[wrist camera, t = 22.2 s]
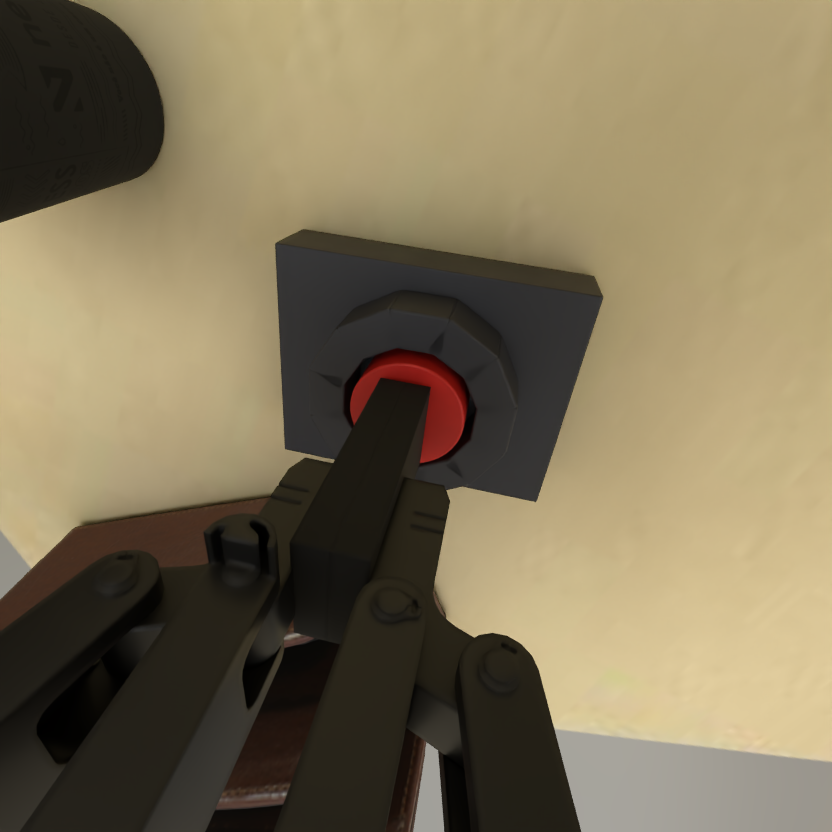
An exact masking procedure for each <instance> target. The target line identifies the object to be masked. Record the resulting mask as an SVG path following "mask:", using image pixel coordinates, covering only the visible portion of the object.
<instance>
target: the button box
mask: <svg viewBox="0 0 832 832" xmlns="http://www.w3.org/2000/svg"><path fill="white" fill-rule="evenodd" d="M275 249H276V270H277V291H278V312H279V333H280V354H281V374H282V395H283V416H284V437H285V449H287V450H292V451H296V452H301V453H306V454H311V455H315V456H320V457H325V458H330V459H334V460H335V459H336V457H337V455H338V454H339V452H340V450H341V448H342V446H343V445H344V443H345V441H346V439H347V437H348V436H349V434H350V432H351V430H352V428H353V427H354V424H353V421H352V417H351V411H350V402H351V396H352V392H353V390H354V388H355V386H356V384H357V383H358V381H359V379H360V378H361V376H362V375H363V373H364V372H365V370H366V368H367V367H368V365H369V364H370V362H371V361H372V359H373V358H374V357H375V356H376V355H378V354H381V353H384V352H387V351H390V350H393V349H396V348H400V349H405V350H410V351H416V352H421V353H427V354H432V355H434V356H436V357H437V358H438V359H439V360H441V361H442V362H443V363H445V364H446V365H447V366H448V367H450V368H451V369H452V370H454V371H455V372H456V373H458V374H459V375H460V376H461V377H463V378H464V381H465V383H466V385H467V388H468V390H469V393H470V399H469V405H468V410H467V415H466V420H465V425H464V429H463V432H462V435H461V437H460V439H459V441H458V442H457V444H456V445H455V446H454V447H453V448H452V449H451V450H450V451H449V452H448V453H446V454H445V455H443V456H441V457H439V458H437V459H435V460H432V461H429V462H423V463H420V464H419V467H418V470H417V473H416V477H415V479H416V480H420V481H425V482H430V483H435V484H440V485H444V486H445V489H446V490H448V489H453V488H458V487H462V486H463V487H467V488H472V489H477V490H482V491H486V492H491V493H496V494H501V495H505V496H510V497H515V498H520V499H524V500H529V501H534V502H536V501H537V499H538V496H539V493H540V490H541V487H542V483H543V480H544V477H545V474H546V471H547V468H548V465H549V462H550V459H551V456H552V453H553V450H554V447H555V444H556V441H557V438H558V434H559V431H560V428H561V425H562V422H563V419H564V416H565V413H566V410H567V407H568V404H569V401H570V398H571V395H572V392H573V389H574V385H575V382H576V379H577V376H578V373H579V370H580V367H581V364H582V361H583V358H584V355H585V352H586V349H587V346H588V343H589V339H590V336H591V333H592V330H593V327H594V324H595V321H596V318H597V315H598V312H599V309H600V306H601V303H602V300H603V296H602V293H601V291H600V289H599V286H598V284H597V282H596V279H595V277H594V276H590V275H584V274H578V273H571V272H565V271H559V270H553V269H546V268H540V267H534V266H528V265H521V264H515V263H509V262H503V261H496V260H490V259H484V258H478V257H472V256H465V255H459V254H453V253H447V252H440V251H434V250H428V249H422V248H415V247H409V246H403V245H397V244H391V243H384V242H378V241H372V240H366V239H359V238H353V237H347V236H341V235H334V234H328V233H322V232H316V231H310V230H300V231H298V232H296V233H294V234H292V235H290V236H288V237H287V238H285V239H283V240H281V241H279V242H277V243H276V244H275Z"/></svg>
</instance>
